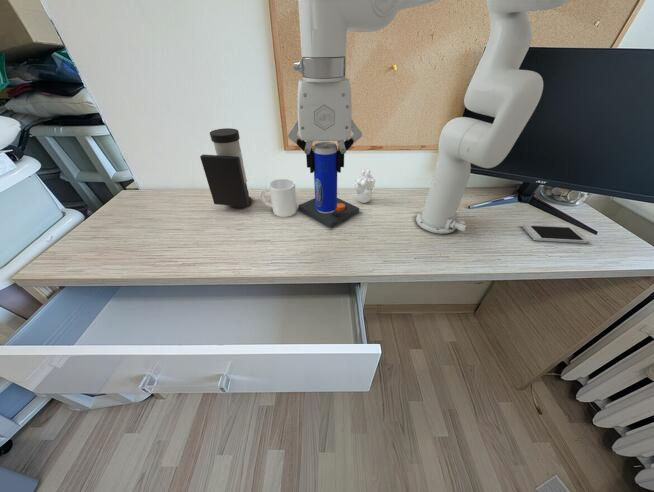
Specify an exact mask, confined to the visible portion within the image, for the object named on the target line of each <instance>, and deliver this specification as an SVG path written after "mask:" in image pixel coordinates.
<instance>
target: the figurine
mask: <svg viewBox="0 0 654 492" xmlns="http://www.w3.org/2000/svg"><path fill="white" fill-rule="evenodd" d="M355 178H356V179H355V182H356V183H355V184H354V185H355V199H356V201H358V202H359V203H361V204H366V203H368V202H370V201H371V199H372V198H373V189H374V188H375V184H376V179H375V178H374V177H373V176H372V174H371V170H370V169H367V170H366V169H364V168H363V169H362V170H361V172H360V173H358V174H357V176H356V177H355Z"/></svg>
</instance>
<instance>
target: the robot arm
mask: <svg viewBox="0 0 654 492" xmlns="http://www.w3.org/2000/svg"><path fill="white" fill-rule="evenodd" d="M438 1H440V0H297V2H298V18H299V19H298V21H299V34H300V35H299V36H300V38H299V39H300V51H301V53H300V55H301V57H300V60H298V61H294V62H293V72H298V73H300V74H301V75H302V78H301V79H299V80H298V83H297V95H296V96H297V104H296V105H297V120H296V121H295V123H294V124H293V126H292V128H290V130H289V132H288V134H287V138H288V139H289V140H291V141H292V142H293V143H294V144H296V145H297V146H298V147H299V149H301V150H302V151H303V152H304V154H305V156H306V157H305V158H306V159H305V160H306V168H309V172H310V174H314V163H313V144H314V143H313V142H337V145H338V147H337V150H338V156H337V174H338V173H339V174H341V173H342V168H345V154H346V153H347V151H348V150H349V149H350V148H351V147H352V146H353V145H354V144H355V143H356V142H357V141H358V140H360V139H361V138H362V137H363V132H362V131H361V129H360V128H359V126H358V125H357V124H356V122H355V121H354V120H353V118H352V116H353V115H352V112H353V111H352V108H353V107H352V106H353V105H352V89H351V81H350V79H349V78H347V77H346V70H347V69H346V68H347V65H346V64H347V34H349V33H371V32H377V31H380V30H382V29H384V28H385V27H387V26H389V24H391V23H392V21H393V20H394V19H395V17H396V16H397V14H398V13H399V11H401V10H406V9H410V8H416V7H422V6H427V5H430V4H432V3H435V2H438ZM567 2H569V0H485V4H486V8H487V13H488V19H489V36H488V41H487V43H486V46H485V49H484V51H483V53H482V56H481V58H480V60H479V62H478V65H477V67H476V69H475V70H474V73H473V76H472V77H471V80H470V82H469V85H468V86H467V89H466V92H465V94H464V98H463V99H464V100H463V104H464V107H465V108H466V109H467V110H468V111H471V112H472V113H476V114H478V115H479V114H480V115H483V116H488V117H492V118H494V120H493V122H492V123H491V122H487V121H484V120H480V119H476V118H472V117H467V116H459V117H455V118H452V119H451V120H449V121H447V123H446V124H445V125H444V126H443V128H442V130H441V131H440V133H439V134H440V135H439V139H438V150H437V159H436V163H435V166H434V171H433V175H432V178H431V181H430V184H429V185H430V186H429V189H428V193H427V197H426V200H425V203H424V207H423V210H422V211H420V212H419V213H417V215H416V218H415V222H416V223H417V225H418V226H419V228H421V229H423V230H424V231H427V232H430V233H433V234H439V235H440V234H441V235H445V234H451V233H453V232H455V231H456V229H457V230H458V231H461V232H465V231H466V230H467V227H468V226H467V225H466V223H467V222H466V221H464V220H461V219H459V218H458V217H459V213H457V212H458V209H459V207H460V204H461V201H462V198H463V195H464V194H465V191H466V187H467V185H468V182H469V180H470V176H471V170H472V166H471V164H472V165H475V166H477V167H480V168H483V169H492V168H495V167H498V165H500V164H501V163H502V162H503V161H505V159H506V157H507V156H508V154H509V153H510V152H511V150H512V148H513V147H514V145H515V144H516V142H517V140H518V138H519V137H520V135H521V133H522V132H523V131H524V128H525V127H526V125H528V124H527V123H528V122H529V121H530V119H531V117H532V115H533V113H534V112H535V110H536V108H537V106H538V104H539V102H540V100H541V97H542V94H543V90H544V80H543V77H542V76H541V74H540V73H538V72H536V71H533V70H528V69H520V68H521V65H522V63H523V61H524V59H525V57H526V55H527V53H528V51H529V48H530V47H531V43H532V38H533V30H532V29H533V28H532V23H531V18H530V15H529V12H535V11H547V10H552V9H556V8H558V7H562V5H565V4H566V3H567Z"/></svg>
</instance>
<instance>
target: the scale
mask: <svg viewBox="0 0 654 492" xmlns="http://www.w3.org/2000/svg"><path fill="white" fill-rule="evenodd" d="M338 203H343V204H345V210H344V211H337V210H336V209H335V211H333V212H332V213H321V212H319V211H318V210H317V209H316V206H315V197H313V198H311V199H309V200H307V201H305V202H302V203H300V204H297V210H298V211H299V212H301V213H303V214H305V215H306V216H308V217H309V218H311V219H313V220H315V221H317V222H319V223H321V224H322V225H324V226H325V227H327V228H329V229H332V228H334V227H336V226H338V225H340V224H342V223H343V222H345V221H347V220H348V219H350V218H352V217H354V216H355V215H357V214H359V213H360V207H358V206H356V205H354V204H352V203H349V202H347V201H345V200H343V199H341V198H339V197H337V204H338Z"/></svg>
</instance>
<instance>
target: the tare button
mask: <svg viewBox="0 0 654 492" xmlns="http://www.w3.org/2000/svg"><path fill="white" fill-rule="evenodd" d="M336 210H337V211H344V210H345V204H343V203H338V204H337V208H336Z"/></svg>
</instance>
